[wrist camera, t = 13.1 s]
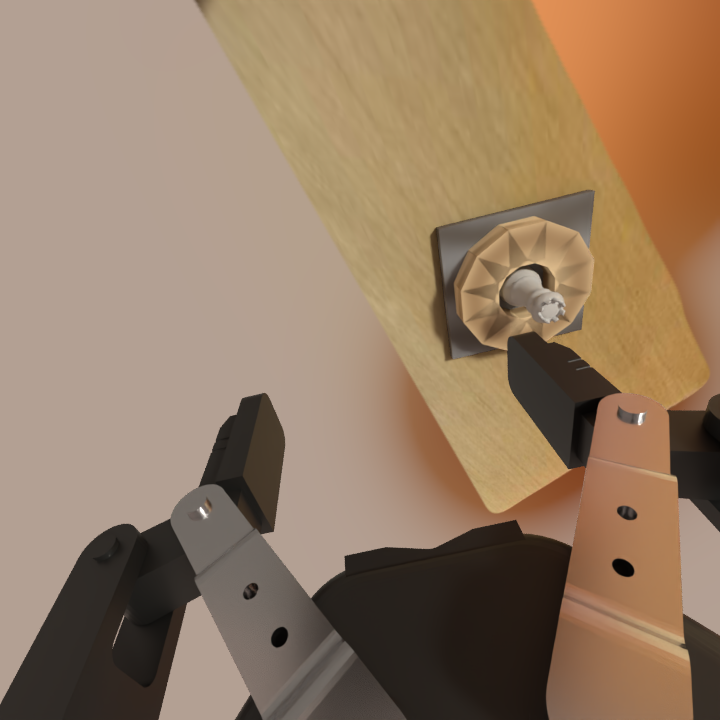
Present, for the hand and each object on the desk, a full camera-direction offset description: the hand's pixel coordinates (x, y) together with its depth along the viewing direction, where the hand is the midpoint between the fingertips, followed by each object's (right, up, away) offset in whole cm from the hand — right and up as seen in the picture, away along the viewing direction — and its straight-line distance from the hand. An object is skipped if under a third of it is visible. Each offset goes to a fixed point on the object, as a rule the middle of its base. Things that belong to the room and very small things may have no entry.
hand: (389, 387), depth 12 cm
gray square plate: (+17, +10, +31) cm, 36 cm away
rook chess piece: (+17, +10, +30) cm, 36 cm away
